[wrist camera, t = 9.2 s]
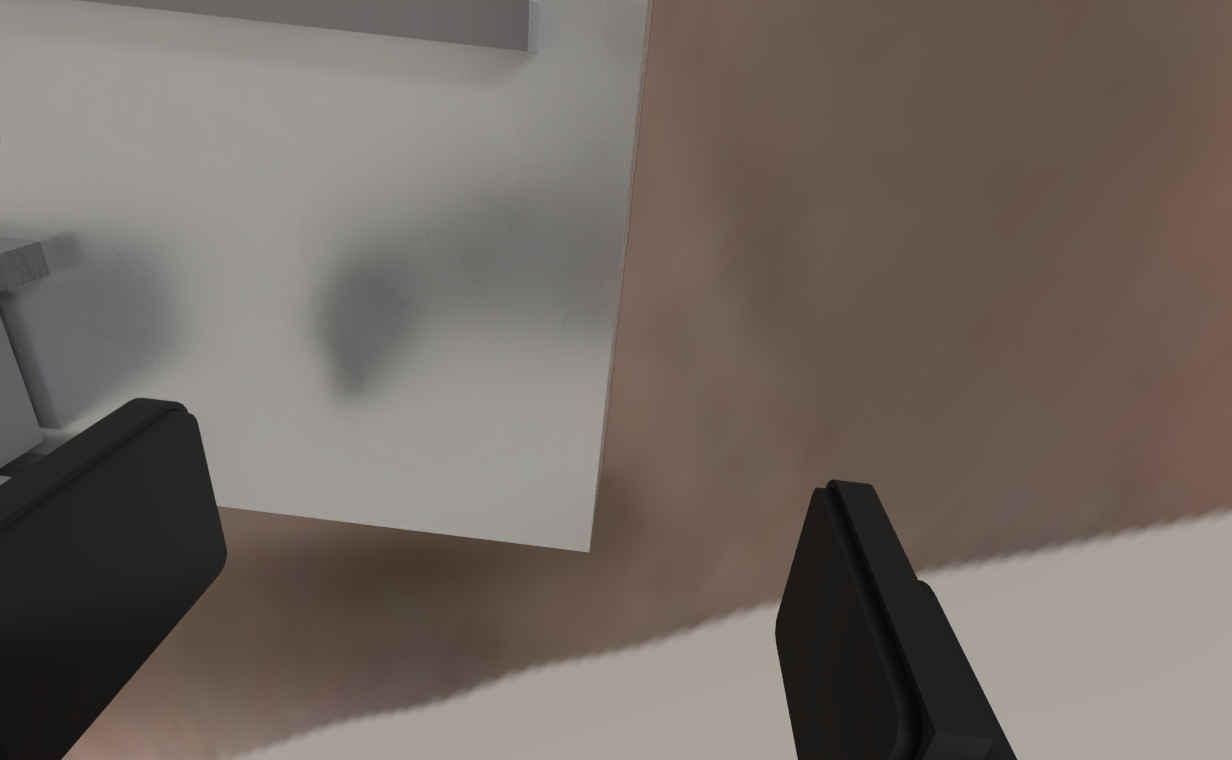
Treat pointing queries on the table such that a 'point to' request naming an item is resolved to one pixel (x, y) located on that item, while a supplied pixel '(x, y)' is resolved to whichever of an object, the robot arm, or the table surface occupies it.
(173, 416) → the robot arm
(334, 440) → the panel
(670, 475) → the table surface
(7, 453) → the fader knob
